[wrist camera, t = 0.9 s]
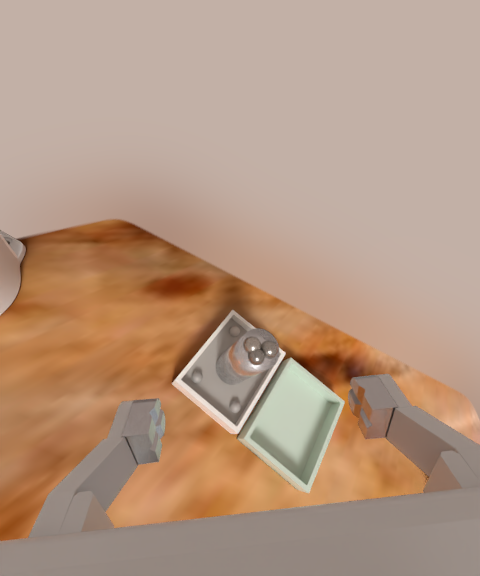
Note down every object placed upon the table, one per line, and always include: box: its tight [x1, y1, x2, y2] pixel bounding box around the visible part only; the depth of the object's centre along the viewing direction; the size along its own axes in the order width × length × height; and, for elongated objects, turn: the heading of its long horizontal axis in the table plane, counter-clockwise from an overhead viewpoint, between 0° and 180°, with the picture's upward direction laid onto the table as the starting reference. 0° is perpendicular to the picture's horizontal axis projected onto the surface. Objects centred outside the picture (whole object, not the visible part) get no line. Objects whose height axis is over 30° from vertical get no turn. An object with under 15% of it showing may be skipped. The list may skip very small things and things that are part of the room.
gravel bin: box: [172, 310, 286, 434], centre depth 43 cm, size 11×14×3 cm
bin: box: [237, 358, 345, 493], centre depth 42 cm, size 11×14×3 cm
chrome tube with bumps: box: [216, 328, 279, 385], centre depth 38 cm, size 5×5×12 cm
